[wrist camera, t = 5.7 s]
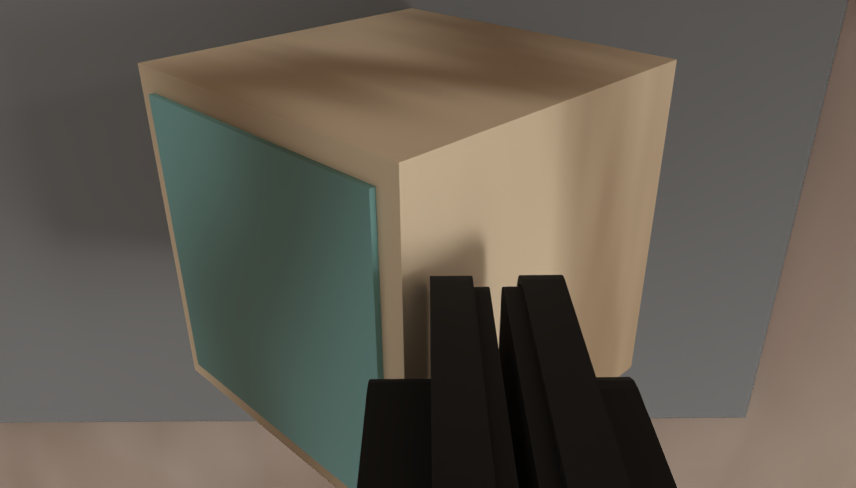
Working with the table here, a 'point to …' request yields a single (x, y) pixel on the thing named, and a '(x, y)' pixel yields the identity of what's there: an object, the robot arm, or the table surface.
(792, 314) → the table surface
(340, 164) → the cube
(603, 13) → the mat
